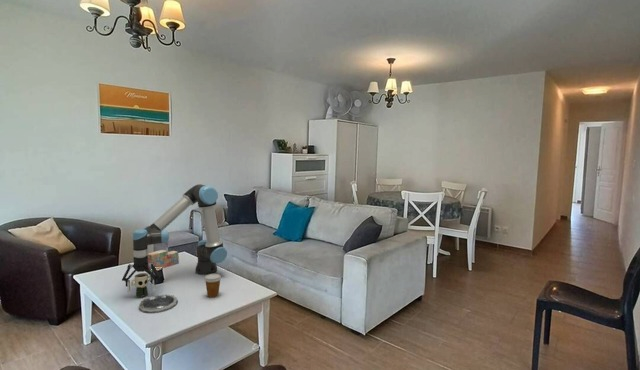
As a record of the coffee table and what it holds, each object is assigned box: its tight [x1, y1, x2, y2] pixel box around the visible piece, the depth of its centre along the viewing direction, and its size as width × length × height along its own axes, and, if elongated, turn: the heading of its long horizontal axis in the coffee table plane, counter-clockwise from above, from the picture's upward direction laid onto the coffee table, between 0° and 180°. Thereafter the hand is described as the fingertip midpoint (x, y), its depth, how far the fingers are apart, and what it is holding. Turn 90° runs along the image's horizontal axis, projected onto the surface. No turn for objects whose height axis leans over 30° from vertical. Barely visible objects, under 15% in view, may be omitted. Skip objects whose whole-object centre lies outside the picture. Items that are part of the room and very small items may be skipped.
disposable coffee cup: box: [204, 273, 222, 298], centre depth 206 cm, size 10×10×12 cm
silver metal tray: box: [138, 293, 179, 314], centre depth 192 cm, size 20×20×2 cm
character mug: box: [130, 272, 152, 298], centre depth 202 cm, size 11×7×13 cm, turn 137°
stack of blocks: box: [147, 249, 180, 270], centre depth 253 cm, size 21×6×12 cm, turn 147°
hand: (141, 290), depth 202 cm, fingers open, 13 cm apart
